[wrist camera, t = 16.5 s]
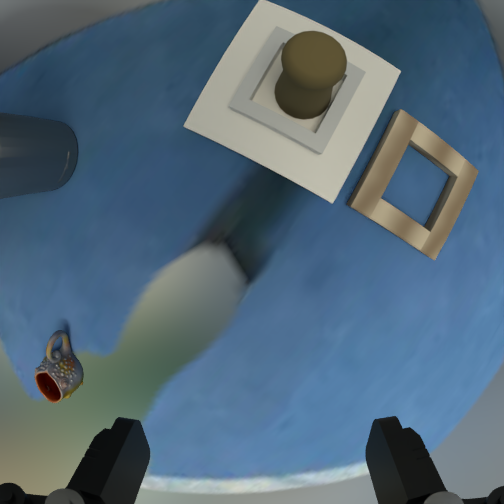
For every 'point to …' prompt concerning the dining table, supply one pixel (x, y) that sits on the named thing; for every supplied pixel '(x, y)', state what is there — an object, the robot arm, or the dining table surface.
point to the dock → (275, 119)
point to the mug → (59, 370)
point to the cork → (309, 74)
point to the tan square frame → (384, 165)
